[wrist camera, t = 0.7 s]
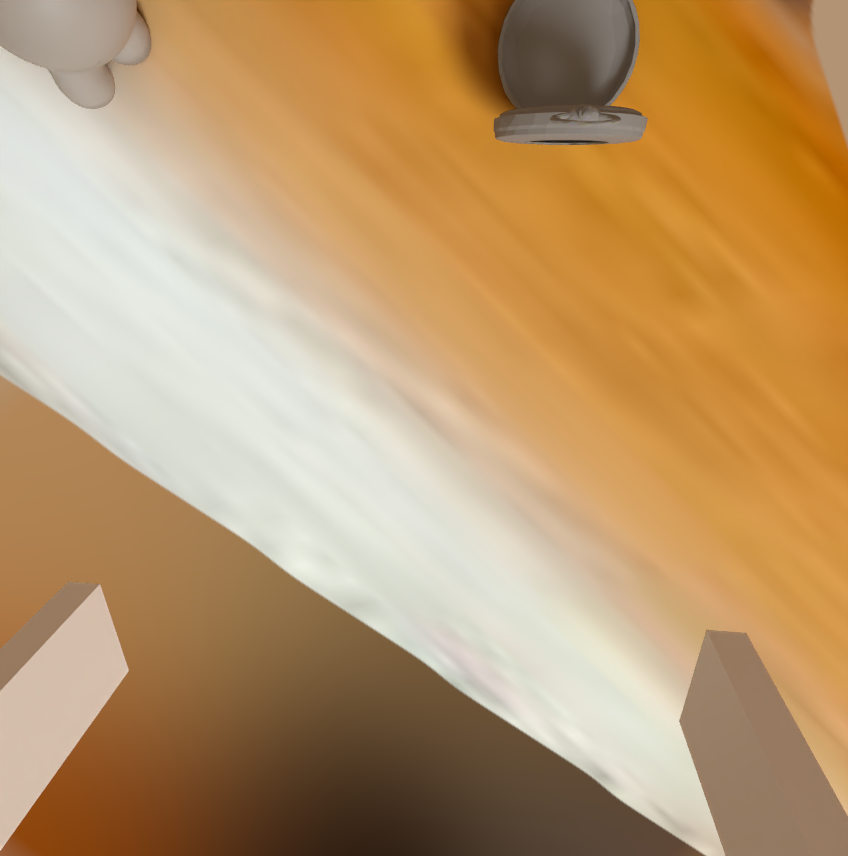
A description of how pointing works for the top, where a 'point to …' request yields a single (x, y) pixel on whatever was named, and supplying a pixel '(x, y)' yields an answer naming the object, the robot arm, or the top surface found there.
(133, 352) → the top surface
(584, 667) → the top surface
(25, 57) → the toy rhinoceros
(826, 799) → the robot arm
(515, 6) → the pocket watch
